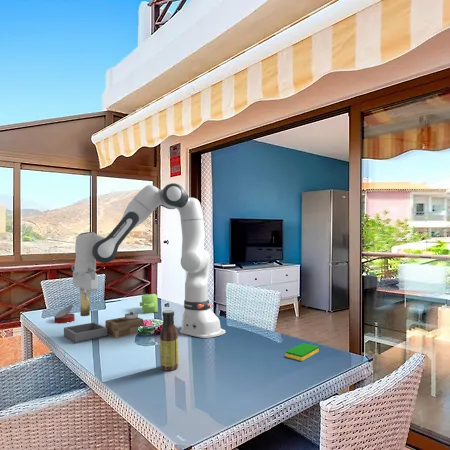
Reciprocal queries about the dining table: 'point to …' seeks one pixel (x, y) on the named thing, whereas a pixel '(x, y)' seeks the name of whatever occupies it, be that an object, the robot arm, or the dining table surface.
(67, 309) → the canned food
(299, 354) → the dish sponge
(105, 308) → the dining table surface
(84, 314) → the pin
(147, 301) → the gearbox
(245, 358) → the dining table surface
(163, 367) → the sauce bottle
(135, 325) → the brown wooden box
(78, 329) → the pin tray
